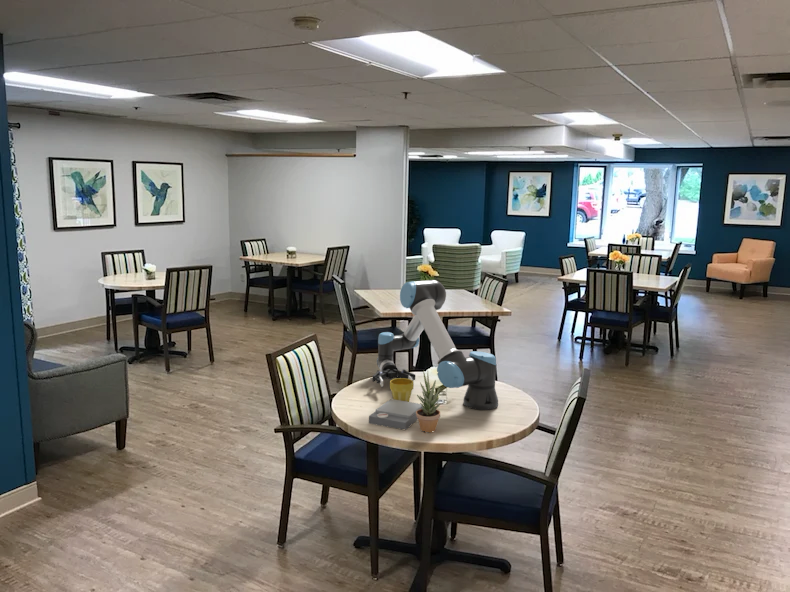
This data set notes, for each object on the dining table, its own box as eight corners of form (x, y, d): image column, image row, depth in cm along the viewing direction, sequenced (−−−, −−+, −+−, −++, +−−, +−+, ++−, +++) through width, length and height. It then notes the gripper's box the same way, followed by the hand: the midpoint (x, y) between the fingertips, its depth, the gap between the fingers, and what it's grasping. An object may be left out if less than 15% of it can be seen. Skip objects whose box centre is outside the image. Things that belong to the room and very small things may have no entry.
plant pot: (391, 398, 284) (391, 377, 283) (414, 399, 283) (414, 378, 281) (387, 405, 274) (388, 384, 273) (411, 407, 273) (412, 385, 271)
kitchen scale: (424, 413, 266) (424, 404, 265) (405, 430, 248) (405, 420, 247) (389, 407, 272) (389, 398, 272) (368, 423, 254) (368, 413, 254)
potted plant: (414, 425, 253) (416, 365, 249) (438, 425, 254) (440, 365, 249) (417, 435, 243) (418, 373, 239) (441, 434, 244) (443, 373, 239)
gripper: (413, 375, 310) (423, 389, 289) (363, 378, 305) (369, 392, 285) (414, 361, 309) (424, 374, 288) (363, 362, 304) (370, 376, 283)
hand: (397, 383), depth 286 cm, fingers open, 13 cm apart
